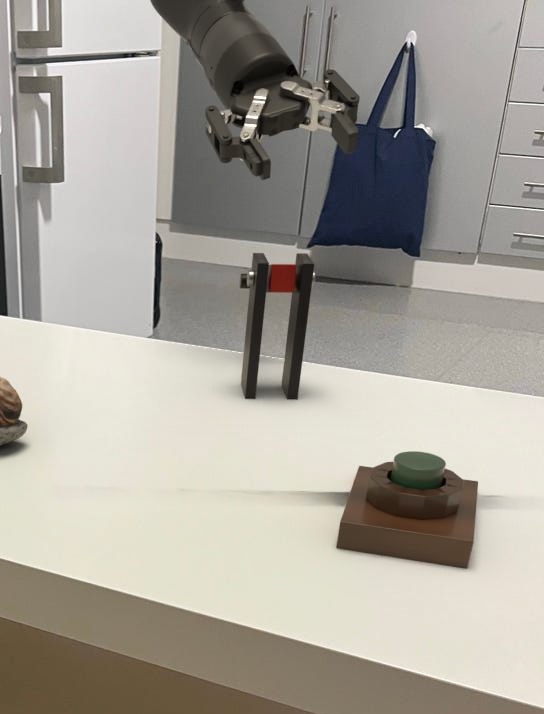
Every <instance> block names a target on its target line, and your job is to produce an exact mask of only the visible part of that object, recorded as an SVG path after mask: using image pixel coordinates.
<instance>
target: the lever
mask: <svg viewBox="0 0 544 714" xmlns="http://www.w3.org/2000/svg"><path fill="white" fill-rule="evenodd" d="M247 275H248V273H240V276H239V289H245V290H246V289H249V290H250V286H247ZM295 276H296V264H295V263H291V264H290V263H285V264H284V263H271V264H269V270H268V279H267V289H266V294H269V293H270V294H271V293H276V294H278V293H280V294H290V293H291V294H292V293H293V292H294V289H295Z"/></svg>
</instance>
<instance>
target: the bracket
mask: <svg viewBox="0 0 544 714" xmlns="http://www.w3.org/2000/svg"><path fill="white" fill-rule="evenodd" d="M294 264H296V276H295V289H294V292H293V293H291V298H290V299H291V300H290V308H289V316H288V325H287V333H286V343H285V351H284V361H283V367H282V368H283V369H282V377H281V388H282V390H283V393H284V395H285V398H286V400H289V401H291V400H292V401H294V400H295V401H298V400H299V399H298V398H299V392H300V383H301V376H302V369H303V368H302V366H303V359H304V351H305V343H306V335H307V327H308V318H309V311H310V304H311V296H312V295H311V294H312V288H314V287H315V283H316V271H315V263H314V261H313V260H312V258H311V257H310V255H309V254H308V253H307V252H306V253H305V252H304V253H302V252H301V253H300V252H299V253H298V252H297V253H296V256H295V262H294ZM269 265H270V262H269V260H268V258H267V257H266V255H265V253H264V252H252V259H251V269H249V270H247V274H248V275H247V286H250V289H249V292H248V303H247V314H246V323H245V324H246V325H245V334H244V335H245V336H244V345H243V346H244V347H243V356H242V357H243V358H242V368H241V377H240V378H241V379H240V381H241V382H240V386H241V389H242V393H243V397H244V399H245V400H256V396H257V388H258V378H259V367H260V359H261V358H260V357H261V347H262V339H263V327H264V319H265V310H266V309H265V308H266V298H267V292H266V289H267V279H268V270H269Z"/></svg>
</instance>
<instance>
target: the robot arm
mask: <svg viewBox="0 0 544 714" xmlns="http://www.w3.org/2000/svg"><path fill="white" fill-rule="evenodd" d="M245 1H246V0H149V2H150V4H151V5H152V7H153V9H154V10H155V11H156V13H157V14H158V15H159V16H160V17H161V18H162V20H163V21H164V22H165V23H166V24H167V25H168V26H169V27H170V28H171V30H173V31H174V32H175V33H176V34H177V35H178V36H179V37H180V38H181V39H182V40H183V42H185V44H186V45H187V47H188V48H189V49H190V51H191V53H192V56H193V57H194V59H195V60H196V61H197V63H198V64H199V66H200V67H201V69H202V70H203V73H204V76H205V78H206V81H207V82H208V84H209V86H210V88H211V89H212V91H213V92H214V93H215V95H216V96H217V98H218V100H219V101H220V102H221V104H222V105H223V106H224V108H225V109H223V110H220V109H219V108H218V107H217V106H216V105H209V106H207V107H205V112H204V113H205V114H204V115H205V116H204V117H205V134H206V136H207V138H208V141H209V143H210V144H211V146H212V148H213V150H214V152H215V154H216V156H217V158H218V160H219V162H220V163H222V164H229V163H230V162H232V160H233V159H239V160H240V161H241V162H244V164H245V166H246V167H247V168H248V170H249V171H250V173H251V174H252V175H253V176H254V177H256V178H257V177H259V178H260V179H261V181H266V180H268V179H270V178H271V169H272V167H271V166H272V162H271V157H270V156H269V154H268V153H267V151H266V150H265V148H264V147H263V145H262V143H261V141H262V140H263V137H264V136H268V137H269V138H270V137H273V136H277V135H279V134H281V133H282V132H287V131H294V130H295V129H302V130H306V131H309V132H312V133H315V132H317V131H318V130H321V131H325V132H329V133H331V134H330V135H331V137H332V139H333V140H334V141H335V142H336V144H337V145H338V147H339V148H340V149H341V150H342V151H343V153H344V154H345V155H349V154H352V153H354V152H355V148H356V147H357V146H358V145H357V144H358V138H359V137H358V136H359V128H358V127H357V126H356V123H357V121H358V113H359V112H358V110H359V103H360V99H361V98H360V95H359V94H358V93H357V92H356V91H355V90H354V88H352V86H351V85H349V83H348V82H347V81H346V80H345V79H344V78H343V77H342V75H341V74H340V73H339V72H337V71H336V70H335V69H331V68H330V69H329V68H328V69H326V70H325V71H324V72H323V79H320V80H317V81H314V82H312V83H311V82H310V81H309V80H306V79H304V78H302V77H300V74H299V72H298V68H297V67H296V65H295V63H294V62H293V61H292V59H291V58H290V56H289V55H288V54H287V52H286V51H285V49H283V47H282V46H281V45H280V43H279V42H278V41H277V39H276V38H275V37H274V35H273V34H272V33H271V31H270V30H269V29H268V28H267V26H265V25H264V23H262V22H261V21H260V20H258V19H257V18H256V16H255V15H254V13H253V12H252V11H251V9H250V8H249V7H248V5H247V4H246V3H245ZM310 107H311V112H310V117H309V116H307V114H308V111H309V109H310ZM324 113H328V114H330V118H327V117H326V116H325V115H324ZM230 124H232V125H233V126H234V127H236V128H239V129H241V131H240V133H239V136H233V134H232V132H231V130H230V128H229V125H230Z"/></svg>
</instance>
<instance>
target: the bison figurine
mask: <svg viewBox="0 0 544 714" xmlns="http://www.w3.org/2000/svg"><path fill="white" fill-rule="evenodd" d="M22 410H23V401H22V399H21V398H20V394H19V393H18V391H17V389H15V388H14V387H13V386H12V384H11V383H10V381H9V380H8V379H6V378H4V377H1V376H0V447H1V446H4V445H6V444H9V443H11V442H13V441H17V440H18V439H21V438H22V437H23V436H24V435H25V434H26V432H27V430H28V424H27V422H26V421H24V420H21V419H20V418H21V416H22Z"/></svg>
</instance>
